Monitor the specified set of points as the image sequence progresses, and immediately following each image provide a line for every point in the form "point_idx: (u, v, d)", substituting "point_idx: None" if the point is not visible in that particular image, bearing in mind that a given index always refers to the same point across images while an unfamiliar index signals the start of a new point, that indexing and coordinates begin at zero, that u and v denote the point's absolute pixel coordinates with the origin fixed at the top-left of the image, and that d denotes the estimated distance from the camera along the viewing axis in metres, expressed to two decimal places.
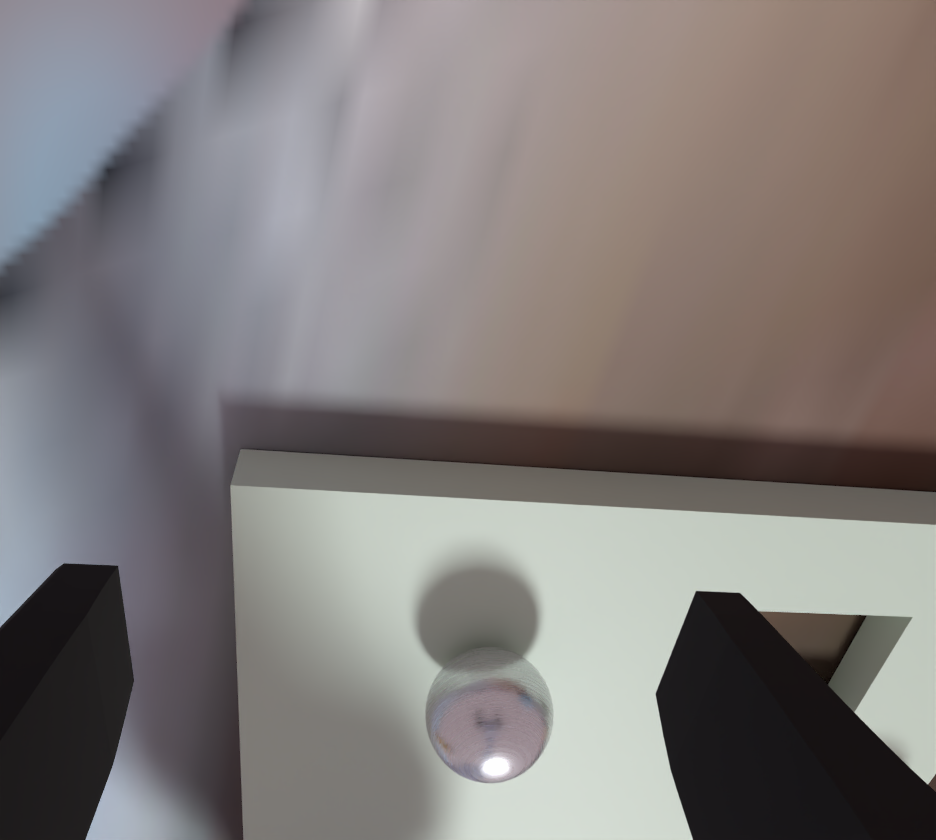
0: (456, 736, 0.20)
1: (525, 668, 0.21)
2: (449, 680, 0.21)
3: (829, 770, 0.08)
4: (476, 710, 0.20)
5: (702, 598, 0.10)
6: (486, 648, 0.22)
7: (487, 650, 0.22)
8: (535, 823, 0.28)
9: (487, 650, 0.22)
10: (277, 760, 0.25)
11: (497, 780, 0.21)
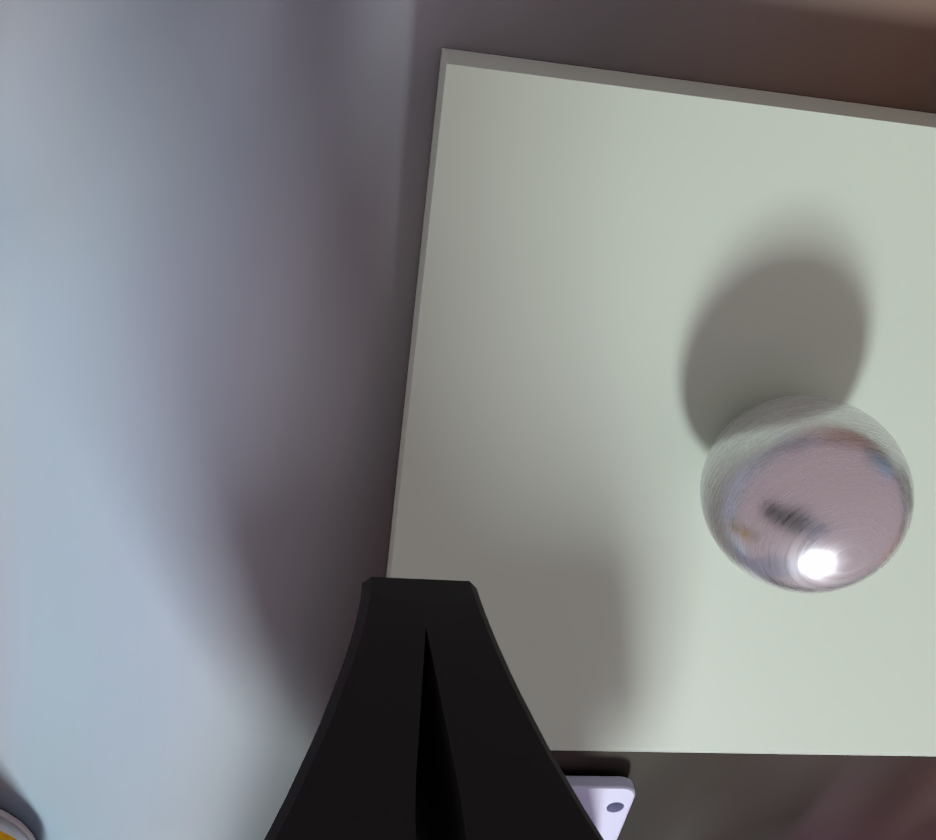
0: (786, 503, 0.13)
1: None
2: (757, 429, 0.13)
3: (460, 766, 0.07)
4: (820, 460, 0.13)
5: (423, 586, 0.10)
6: (796, 395, 0.14)
7: None
8: (769, 714, 0.21)
9: (802, 395, 0.14)
10: None
11: (841, 580, 0.13)
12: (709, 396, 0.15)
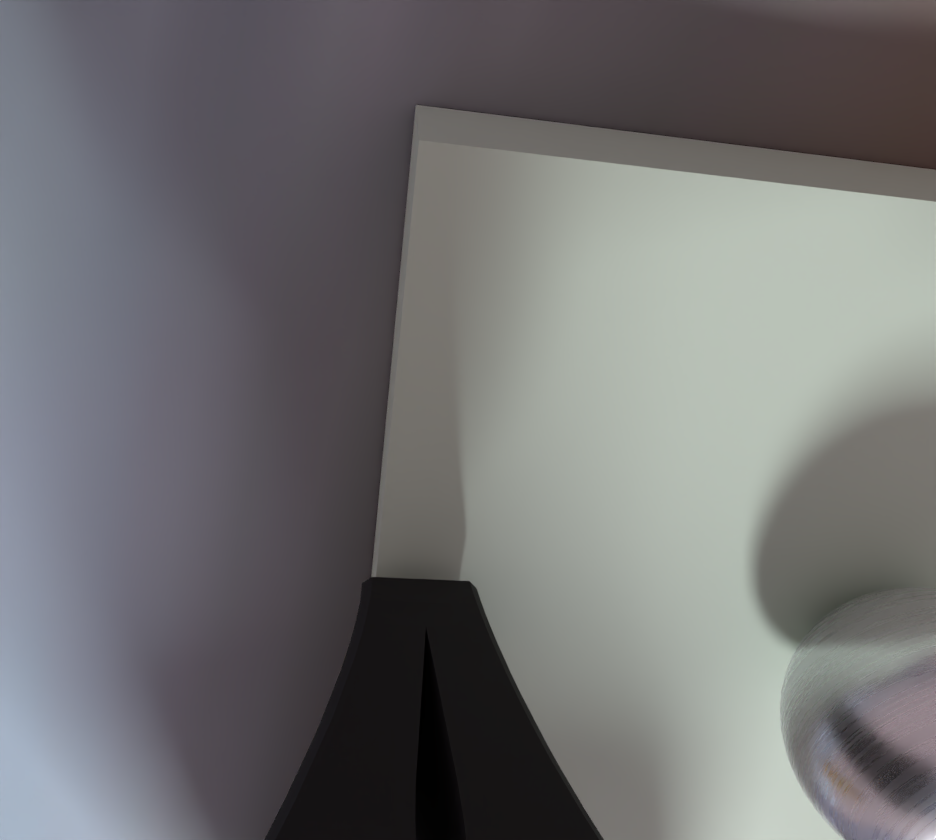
0: (928, 787, 0.09)
1: None
2: (876, 657, 0.09)
3: (460, 766, 0.07)
4: None
5: (423, 587, 0.10)
6: (920, 589, 0.10)
7: (930, 592, 0.10)
8: None
9: (931, 593, 0.10)
10: None
11: None
12: (791, 577, 0.11)
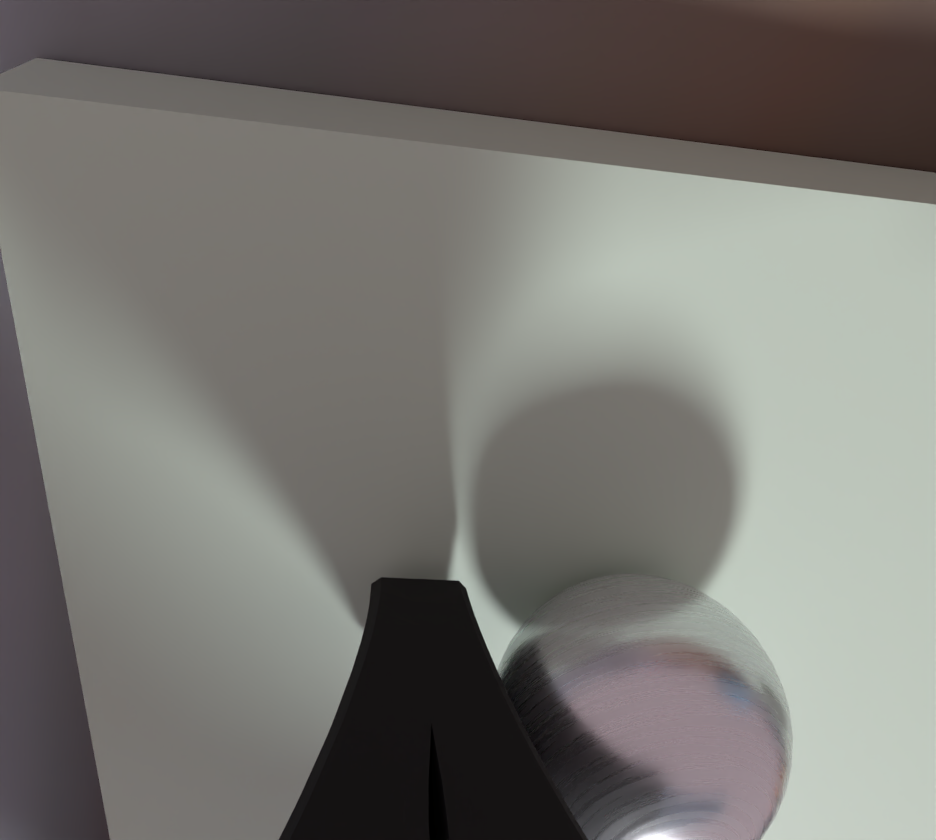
0: (583, 784, 0.08)
1: (727, 616, 0.09)
2: (554, 647, 0.09)
3: (445, 766, 0.07)
4: (634, 716, 0.08)
5: (411, 586, 0.09)
6: (626, 575, 0.10)
7: (631, 578, 0.09)
8: None
9: (631, 579, 0.09)
10: (178, 812, 0.13)
11: None
12: (511, 563, 0.10)
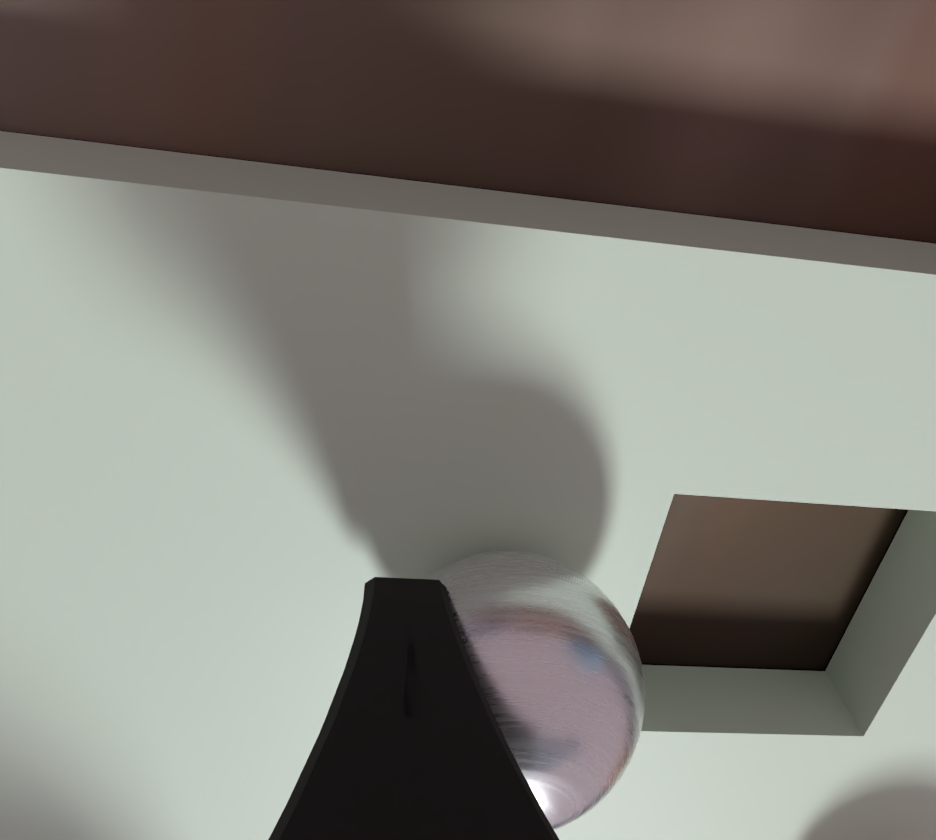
0: None
1: None
2: (613, 630, 0.10)
3: (418, 765, 0.07)
4: (555, 563, 0.10)
5: (391, 585, 0.09)
6: (530, 696, 0.09)
7: (531, 677, 0.09)
8: None
9: (530, 673, 0.09)
10: None
11: None
12: (13, 551, 0.11)
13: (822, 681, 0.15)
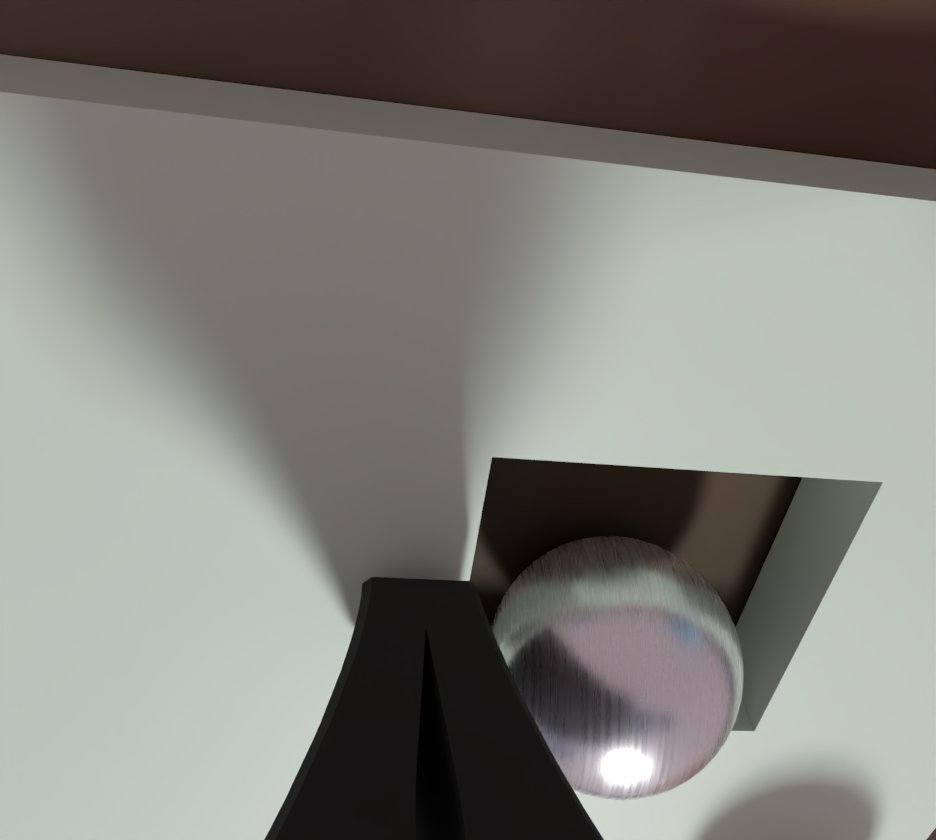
0: (525, 571, 0.11)
1: (656, 684, 0.09)
2: (618, 541, 0.11)
3: (460, 766, 0.07)
4: (549, 579, 0.10)
5: (423, 586, 0.10)
6: (705, 611, 0.10)
7: (694, 607, 0.10)
8: None
9: (692, 606, 0.10)
10: None
11: None
12: None
13: None
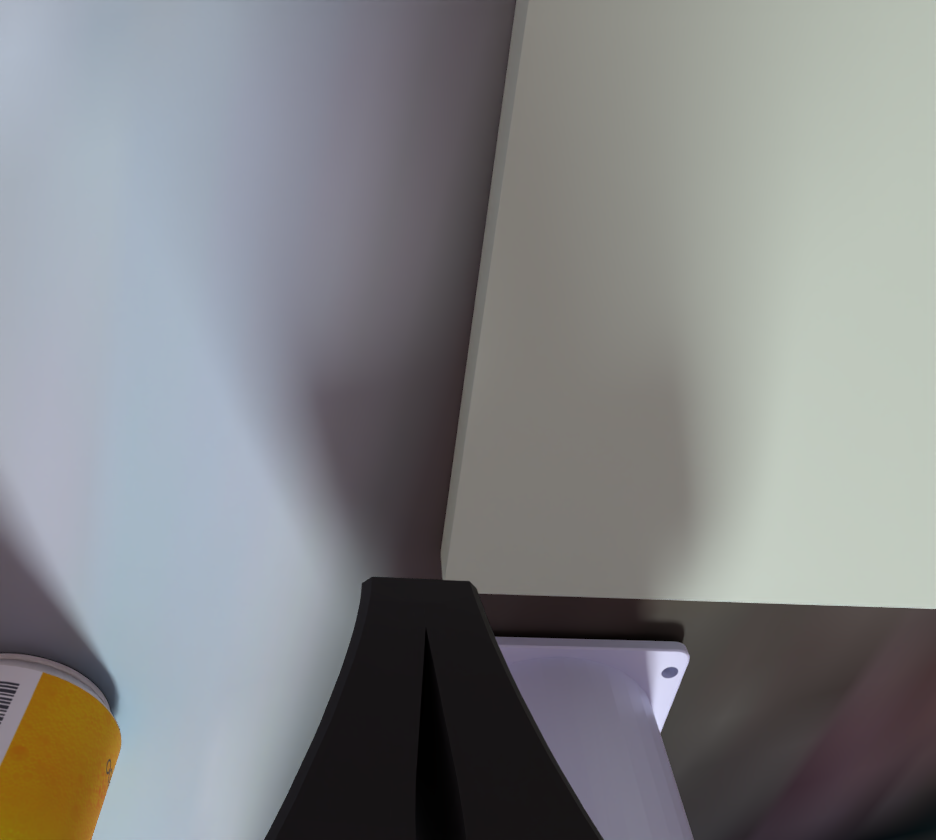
0: None
1: None
2: None
3: (460, 766, 0.07)
4: None
5: (423, 587, 0.10)
6: None
7: None
8: (825, 560, 0.21)
9: None
10: (515, 430, 0.18)
11: None
12: (783, 205, 0.16)
13: None
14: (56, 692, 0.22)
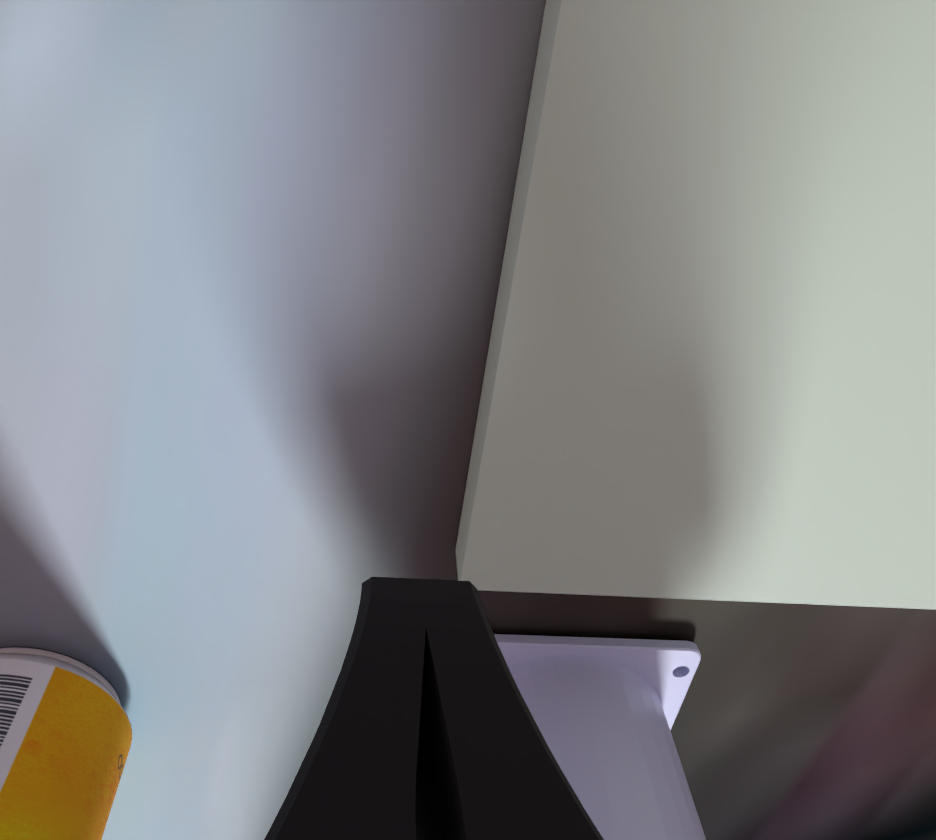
0: None
1: None
2: None
3: (460, 766, 0.07)
4: None
5: (423, 586, 0.10)
6: None
7: None
8: (840, 560, 0.21)
9: None
10: (536, 428, 0.18)
11: None
12: (808, 205, 0.16)
13: None
14: (68, 686, 0.22)
